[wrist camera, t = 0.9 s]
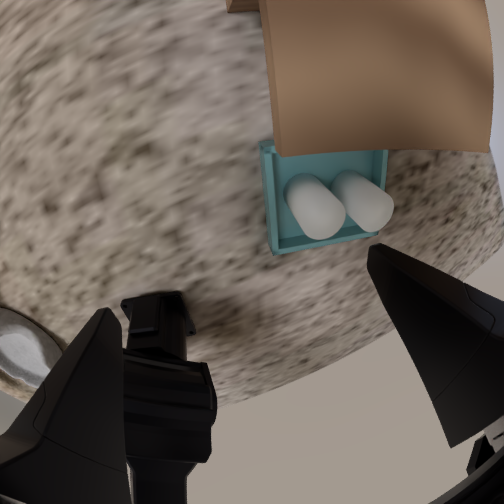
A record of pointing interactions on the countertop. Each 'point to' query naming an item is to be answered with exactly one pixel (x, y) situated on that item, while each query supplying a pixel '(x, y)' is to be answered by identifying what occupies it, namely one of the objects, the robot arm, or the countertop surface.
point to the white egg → (313, 206)
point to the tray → (325, 170)
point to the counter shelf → (377, 74)
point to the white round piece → (363, 200)
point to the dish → (25, 349)
